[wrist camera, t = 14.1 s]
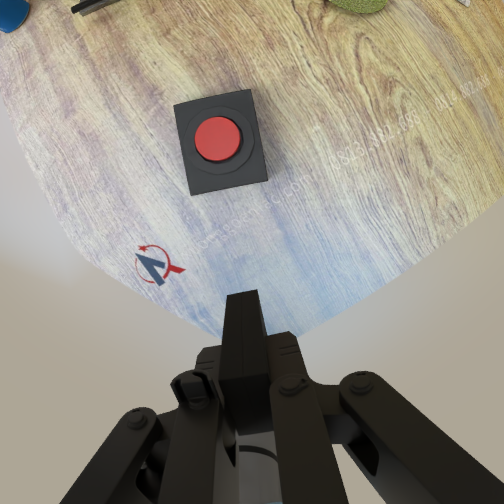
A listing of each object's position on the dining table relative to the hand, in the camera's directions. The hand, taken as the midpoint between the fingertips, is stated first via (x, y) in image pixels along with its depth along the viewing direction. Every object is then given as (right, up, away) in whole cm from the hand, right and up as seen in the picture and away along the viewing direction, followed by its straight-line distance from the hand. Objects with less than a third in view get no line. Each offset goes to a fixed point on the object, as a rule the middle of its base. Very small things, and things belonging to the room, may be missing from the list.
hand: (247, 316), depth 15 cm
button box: (-3, +16, +19) cm, 26 cm away
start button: (-3, +15, +16) cm, 22 cm away
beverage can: (-40, +43, +11) cm, 60 cm away
